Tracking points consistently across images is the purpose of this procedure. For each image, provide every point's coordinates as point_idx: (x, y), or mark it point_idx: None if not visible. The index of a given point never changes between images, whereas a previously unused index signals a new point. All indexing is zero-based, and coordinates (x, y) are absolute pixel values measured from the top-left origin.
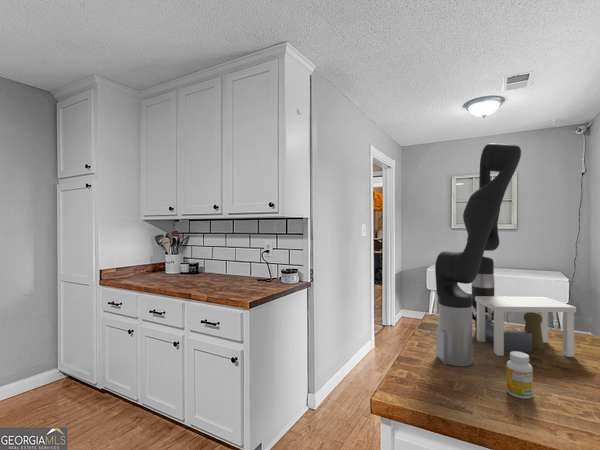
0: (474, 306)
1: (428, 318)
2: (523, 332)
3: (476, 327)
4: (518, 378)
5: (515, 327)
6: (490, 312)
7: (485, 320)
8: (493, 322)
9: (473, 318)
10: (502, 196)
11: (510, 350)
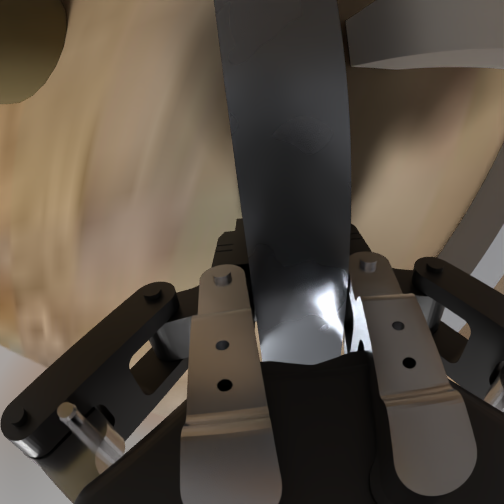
0: (499, 411)
1: None
2: None
3: (357, 235)
4: None
5: (60, 352)
6: (203, 349)
7: (326, 194)
8: (235, 88)
9: (440, 266)
10: None
11: None
